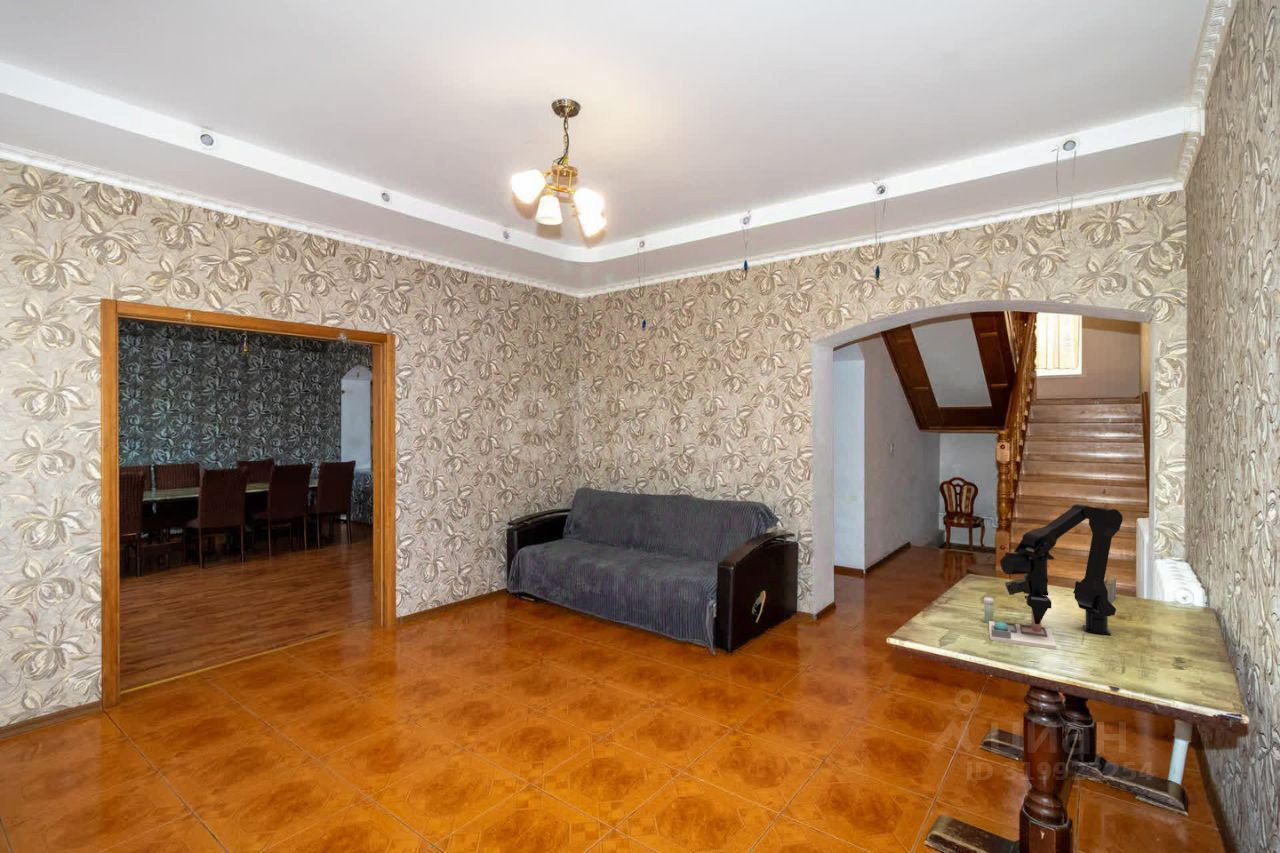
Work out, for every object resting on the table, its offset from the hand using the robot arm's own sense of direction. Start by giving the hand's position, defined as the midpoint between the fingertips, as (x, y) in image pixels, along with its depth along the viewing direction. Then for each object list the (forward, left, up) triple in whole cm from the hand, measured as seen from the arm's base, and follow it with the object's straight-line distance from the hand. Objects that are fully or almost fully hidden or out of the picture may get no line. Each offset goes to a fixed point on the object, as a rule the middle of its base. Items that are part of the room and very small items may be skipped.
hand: (1036, 622), depth 194 cm
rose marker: (0, 0, -2) cm, 2 cm away
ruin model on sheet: (-57, +27, -4) cm, 63 cm away
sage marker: (-6, -13, -4) cm, 15 cm away
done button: (+10, -10, -1) cm, 14 cm away
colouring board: (+4, -5, -4) cm, 7 cm away
